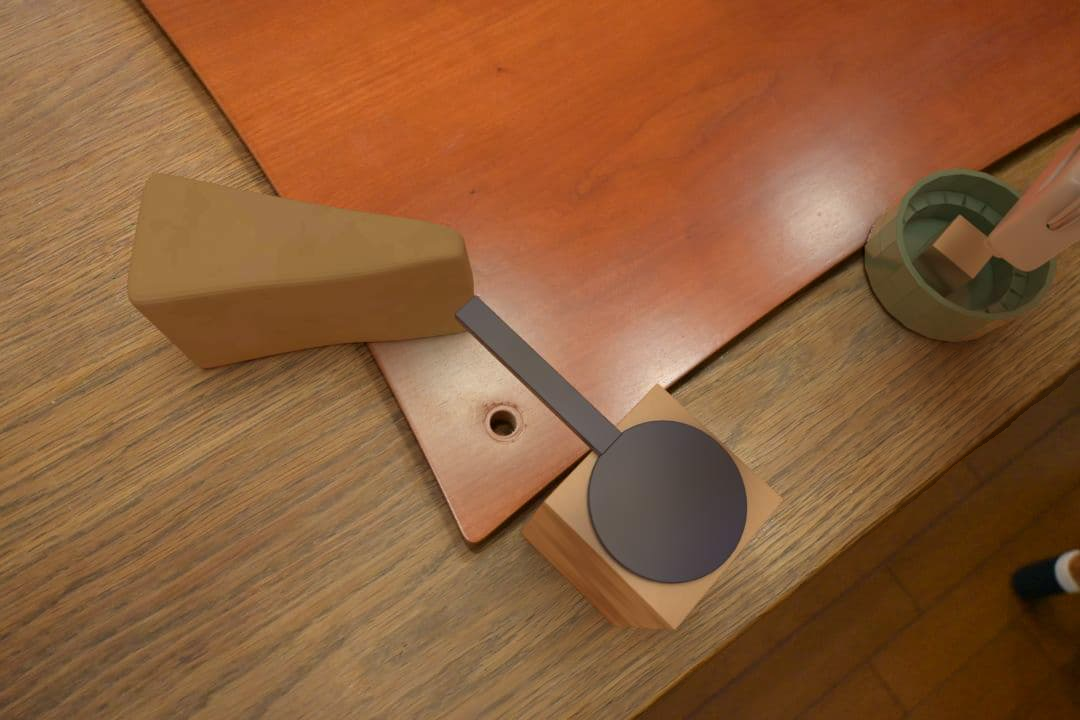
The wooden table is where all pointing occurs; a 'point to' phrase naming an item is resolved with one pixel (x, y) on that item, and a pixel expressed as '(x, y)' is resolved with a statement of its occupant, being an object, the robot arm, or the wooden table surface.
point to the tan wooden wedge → (287, 272)
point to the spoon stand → (634, 494)
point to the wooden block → (952, 256)
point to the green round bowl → (977, 302)
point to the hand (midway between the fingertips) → (1025, 208)
